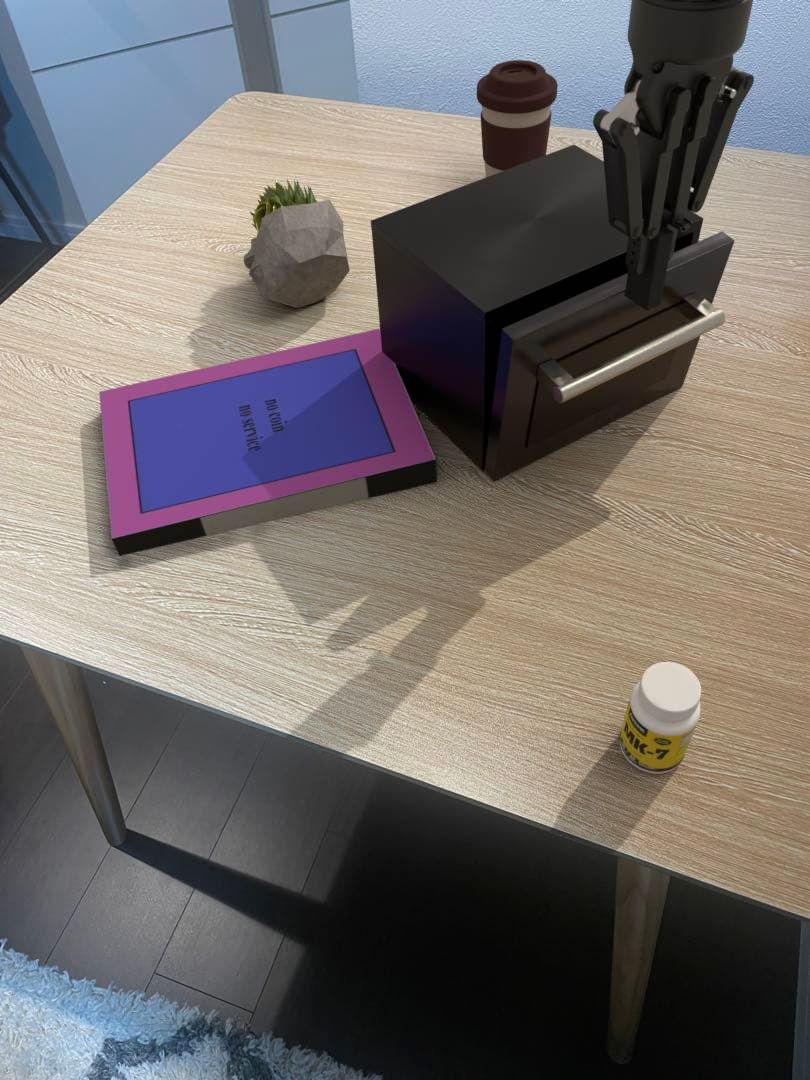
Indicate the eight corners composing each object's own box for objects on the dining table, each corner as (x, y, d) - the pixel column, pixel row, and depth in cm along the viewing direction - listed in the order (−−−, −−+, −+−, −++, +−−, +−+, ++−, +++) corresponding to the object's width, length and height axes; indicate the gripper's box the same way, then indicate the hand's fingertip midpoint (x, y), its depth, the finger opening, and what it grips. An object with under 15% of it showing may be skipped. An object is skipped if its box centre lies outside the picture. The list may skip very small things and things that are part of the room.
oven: (670, 377, 95) (703, 218, 82) (482, 471, 87) (484, 312, 74) (560, 297, 105) (574, 144, 92) (383, 375, 98) (370, 220, 84)
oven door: (708, 409, 92) (767, 264, 78) (517, 509, 84) (543, 368, 70) (672, 377, 95) (722, 230, 80) (483, 471, 87) (501, 328, 73)
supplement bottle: (606, 750, 68) (620, 689, 61) (640, 707, 70) (657, 644, 63) (664, 788, 65) (685, 729, 59) (697, 742, 68) (720, 680, 61)
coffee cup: (535, 211, 118) (542, 92, 107) (464, 198, 121) (464, 81, 110) (560, 176, 124) (569, 59, 113) (492, 164, 127) (494, 50, 116)
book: (99, 391, 94) (379, 328, 98) (108, 413, 97) (382, 350, 100) (111, 538, 81) (435, 459, 84) (121, 560, 83) (437, 481, 87)
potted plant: (244, 311, 101) (194, 220, 107) (324, 334, 111) (274, 249, 117) (309, 229, 95) (252, 136, 101) (387, 260, 105) (331, 175, 111)
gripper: (726, -59, 62) (669, 254, 79) (575, -13, 58) (551, 306, 75) (814, -31, 57) (733, 293, 75) (658, 21, 53) (611, 351, 71)
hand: (642, 299), depth 75 cm, fingers closed
